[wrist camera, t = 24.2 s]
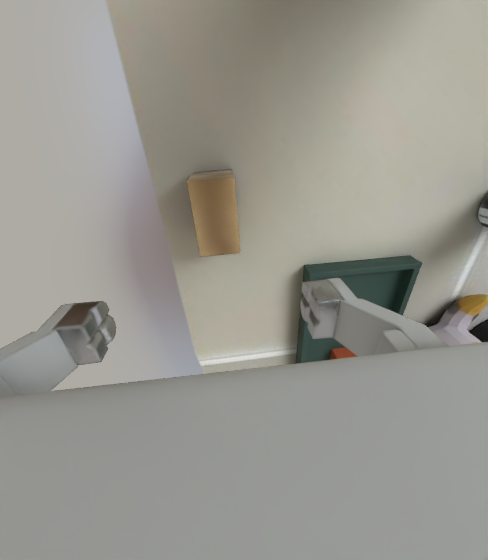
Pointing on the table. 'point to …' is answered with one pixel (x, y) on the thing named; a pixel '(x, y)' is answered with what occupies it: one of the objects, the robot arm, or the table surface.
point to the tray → (359, 293)
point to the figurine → (460, 320)
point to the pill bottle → (483, 212)
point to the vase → (481, 332)
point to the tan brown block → (214, 212)
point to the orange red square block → (341, 353)
